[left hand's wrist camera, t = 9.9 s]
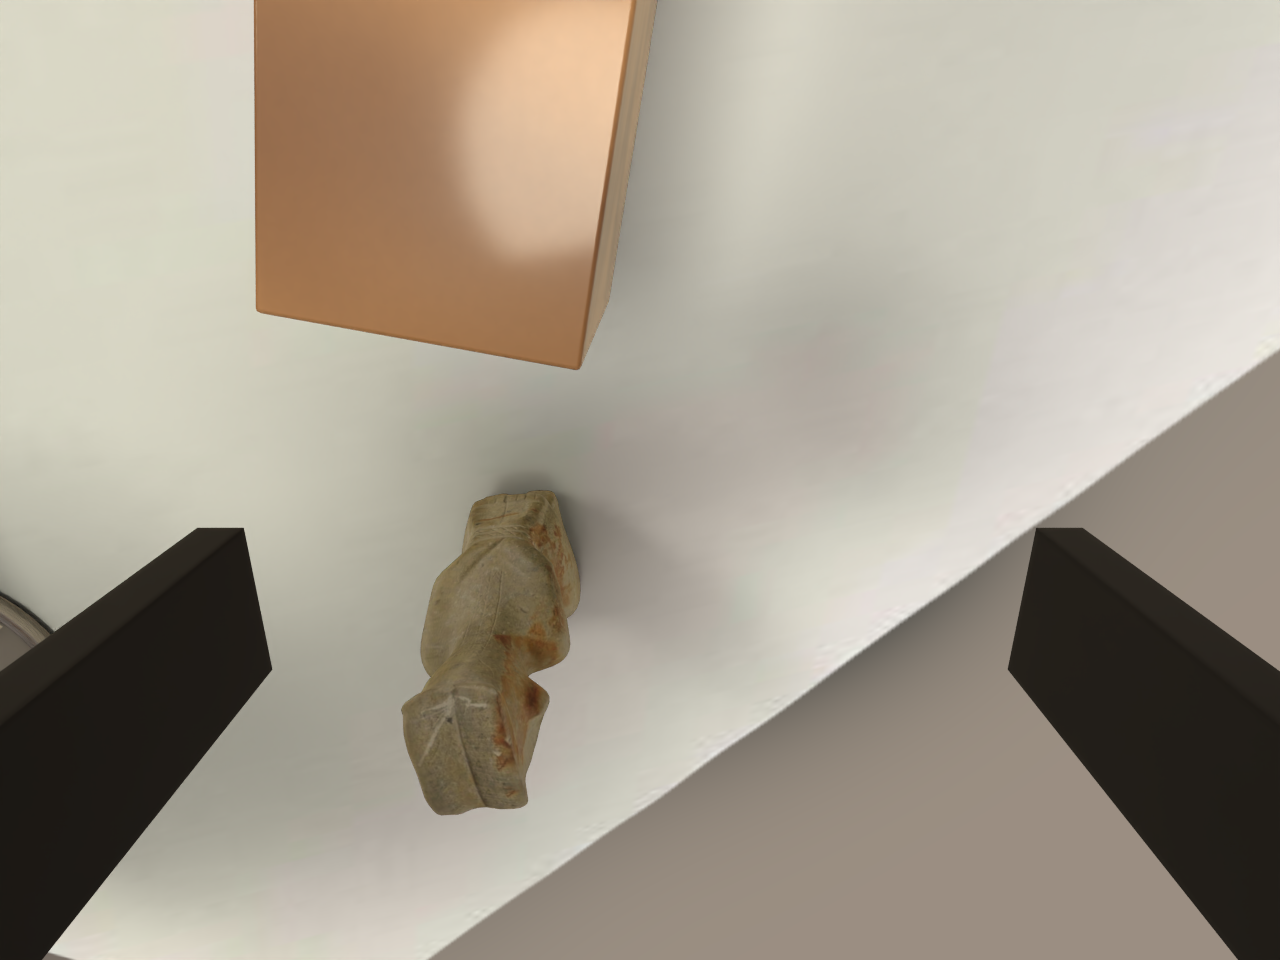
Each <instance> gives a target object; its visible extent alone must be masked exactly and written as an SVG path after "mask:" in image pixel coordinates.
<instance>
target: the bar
mask: <svg viewBox="0 0 1280 960" xmlns="http://www.w3.org/2000/svg"><path fill="white" fill-rule="evenodd" d="M656 6H657V0H254V85H255V240H256V310H257V311H258V312H260V313H263V314H269V315H274V316H280V317H285V318H291V319H296V320H302V321H307V322H313V323H319V324H324V325H330V326H335V327H341V328H346V329H352V330H357V331H363V332H368V333H374V334H379V335H385V336H391V337H396V338H402V339H407V340H413V341H418V342H424V343H429V344H435V345H440V346H446V347H451V348H457V349H463V350H468V351H474V352H479V353H485V354H490V355H496V356H501V357H507V358H512V359H518V360H523V361H529V362H535V363H540V364H546V365H551V366H557V367H562V368H568V369H573V370H578V369H580V367H581V366H582V363H583V361H584V358H585V356H586V354H587V351H588V349H589V347H590V344H591V342H592V340H593V337H594V335H595V332H596V330H597V328H598V325H599V323H600V321H601V318H602V316H603V314H604V311H605V309H606V307H607V304H608V302H609V297H610V291H611V285H612V279H613V272H614V266H615V260H616V254H617V248H618V241H619V235H620V229H621V223H622V217H623V211H624V204H625V198H626V192H627V186H628V180H629V173H630V167H631V161H632V155H633V149H634V142H635V136H636V130H637V124H638V118H639V112H640V105H641V99H642V93H643V87H644V81H645V74H646V68H647V62H648V56H649V50H650V43H651V37H652V31H653V25H654V19H655V13H656Z"/></svg>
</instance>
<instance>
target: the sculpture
mask: <svg viewBox="0 0 1280 960" xmlns="http://www.w3.org/2000/svg"><path fill="white" fill-rule="evenodd" d="M579 600H580V579H579V573H578V568H577V564H576V561H575V557H574V554H573V551H572V548H571V545H570V543H569V540H568V537H567V534H566V531H565V529H564V526H563V522H562V518H561V514H560V511H559V504H558V500H557V498H556V496H555V494H554V493H553V492H552V491H543V490H538V491H529V492H528V493H527V494H515V495H508V494H499V495H494V496H489V497H486V498H485V499H482V500H479V501H477V502H475V503H474V505H473V506H472V509H471V511H470V515H469V519H468V522H467V526H466V531H465V536H464V542H463V548H462V554H461V555H460V556H459V557H458V558H457V559H456V560H455V561H454V562H453V563H452V564H450V565H449V566H448V567H447V568H446V569H445V570H444V571H443V572H442V573H441V574H440V575H439V576H438V578H437V579H436V581H435V583H434V585H433V589H432V593H431V597H430V601H429V606H428V610H427V615H426V620H425V625H424V629H423V634H422V640H421V659H422V663H423V665H424V668H425V670H426V672H427V673H428V674H429V676H430V677H431V678H430V679H429V680H428V682H427V683H426V685H425V687H424V688H423V690H422V692H421V693H419V694H417V695H416V696H414V697H413V698H411V699H410V700H408V701H407V702H406V703H405V704H404V705H403V706H402V710H401V711H402V714H403V729H404V738H405V742H406V746H407V750H408V753H409V756H410V758H411V761H412V763H413V766H414V768H415V771H416V773H417V776H418V779H419V782H420V785H421V788H422V791H423V794H424V797H425V799H426V801H427V803H428V804H429V806H430V807H431V808H432V809H433V811H434V812H436V813H437V814H439V815H458V814H462V813H464V812H467V811H469V810H471V809H475V808H479V807H489V808H496V809H516V808H521V807H523V806H525V805H526V804H527V802H528V797H527V790H526V783H525V777H526V773H527V770H528V768H529V765H530V762H531V759H532V755H533V752H534V748H535V745H536V741H537V737H538V733H539V729H540V725H541V722H542V719H543V716H544V713H545V711H546V709H547V707H548V704H549V695H548V693H547V692H546V691H545V690H544V689H543V688H542V687H541V686H539V685H538V684H537V683H535V682H534V681H533V680H531V679H530V678H529V677H528V676H529V675H530V674H532V673H534V672H537V671H540V670H543V669H546V668H549V667H551V666H554V665H556V664H558V663H559V662H561V661H562V660H563V659H564V658H565V657H566V656H567V654H568V652H569V649H570V637H569V630H568V624H567V618H568V617H569V616H571V615H572V614H573V613H574V611H575V610H576V608H577V606H578V603H579Z"/></svg>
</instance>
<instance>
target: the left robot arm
mask: <svg viewBox="0 0 1280 960" xmlns="http://www.w3.org/2000/svg"><path fill="white" fill-rule="evenodd" d="M271 670H272V666H271V661H270V656H269V651H268V646H267V641H266V636H265V631H264V626H263V621H262V616H261V611H260V606H259V601H258V596H257V591H256V586H255V581H254V576H253V571H252V567H251V562H250V557H249V552H248V547H247V542H246V537H245V532H244V528H197V529H195V530H194V531H193V532H191V533H190V534H188V535H187V536H186V537H184V538H183V539H182V540H180V541H179V542H177V543H176V544H175V545H173V546H172V547H171V548H169V549H168V550H166V551H165V552H164V553H162V554H161V555H160V556H158V557H157V558H155V559H154V560H153V561H151V562H150V563H149V564H147V565H146V566H144V567H143V568H142V569H140V570H139V571H138V572H136V573H135V574H133V575H132V576H131V577H129V578H128V579H127V580H125V581H124V582H122V583H121V584H120V585H118V586H117V587H116V588H114V589H113V590H111V591H110V592H109V593H107V594H106V595H105V596H103V597H102V598H100V599H99V600H98V601H96V602H95V603H94V604H92V605H91V606H89V607H88V608H87V609H85V610H84V611H83V612H81V613H80V614H78V615H77V616H76V617H74V618H73V619H72V620H70V621H69V622H67V623H66V624H65V625H63V626H62V627H61V628H59V629H58V630H57V631H55V632H54V633H52V634H50V633H49V632H48V631H47V630H46V629H45V628H44V627H43V626H41V625H40V624H39V623H38V622H37V621H36V620H35V619H33V618H32V617H31V616H30V615H28V614H27V613H26V612H24V611H23V610H22V609H21V608H19V607H18V606H16V605H14V604H13V603H11V602H10V601H8V600H7V599H5V598H3V597H2V596H0V960H42V959H43V958H44V956H45V955H46V954H47V953H48V951H49V950H50V949H51V948H52V946H53V945H54V944H55V943H56V941H57V940H58V939H59V938H60V936H61V935H62V934H63V933H64V931H65V930H66V929H67V927H68V926H69V925H70V924H71V922H72V921H73V920H74V919H75V917H76V916H77V915H78V914H79V912H80V911H81V910H82V909H83V907H84V906H85V905H86V904H87V902H88V901H89V900H90V898H91V897H92V896H93V895H94V893H95V892H96V891H97V890H98V888H99V887H100V886H101V885H102V883H103V882H104V881H105V880H106V878H107V877H108V876H109V875H110V873H111V872H112V871H113V869H114V868H115V867H116V866H117V864H118V863H119V862H120V861H121V859H122V858H123V857H124V856H125V854H126V853H127V852H128V851H129V849H130V848H131V847H132V846H133V844H134V843H135V842H136V841H137V839H138V838H139V837H140V835H141V834H142V833H143V832H144V830H145V829H146V828H147V827H148V825H149V824H150V823H151V822H152V820H153V819H154V818H155V817H156V815H157V814H158V813H159V812H160V810H161V809H162V808H163V806H164V805H165V804H166V803H167V801H168V800H169V799H170V798H171V796H172V795H173V794H174V793H175V791H176V790H177V789H178V788H179V786H180V785H181V784H182V783H183V781H184V780H185V779H186V777H187V776H188V775H189V774H190V772H191V771H192V770H193V769H194V767H195V766H196V765H197V764H198V762H199V761H200V760H201V759H202V757H203V756H204V755H205V754H206V752H207V751H208V750H209V748H210V747H211V746H212V745H213V743H214V742H215V741H216V740H217V738H218V737H219V736H220V735H221V733H222V732H223V731H224V730H225V728H226V727H227V726H228V725H229V723H230V722H231V721H232V720H233V718H234V717H235V716H236V714H237V713H238V712H239V711H240V709H241V708H242V707H243V706H244V704H245V703H246V702H247V701H248V699H249V698H250V697H251V696H252V694H253V693H254V692H255V691H256V689H257V688H258V687H259V685H260V684H261V683H262V682H263V680H264V679H265V678H266V677H267V675H268V674H269V673H270V672H271ZM1008 670H1009V671H1010V673H1011V674H1012V675H1013V677H1014V678H1015V679H1016V680H1017V682H1018V683H1019V684H1020V685H1021V687H1022V688H1023V689H1024V691H1025V692H1026V693H1027V694H1028V696H1029V697H1030V698H1031V699H1032V701H1033V702H1034V703H1035V704H1036V706H1037V707H1038V708H1039V709H1040V711H1041V712H1042V713H1043V714H1044V716H1045V717H1046V718H1047V720H1048V721H1049V722H1050V723H1051V724H1052V726H1053V727H1054V728H1055V730H1056V731H1057V732H1058V733H1059V735H1060V736H1061V737H1062V738H1063V740H1064V741H1065V742H1066V743H1067V745H1068V746H1069V747H1070V748H1071V750H1072V751H1073V752H1074V753H1075V755H1076V756H1077V757H1078V759H1079V760H1080V761H1081V762H1082V764H1083V765H1084V766H1085V767H1086V769H1087V770H1088V771H1089V772H1090V774H1091V775H1092V776H1093V777H1094V779H1095V780H1096V781H1097V782H1098V784H1099V785H1100V786H1101V787H1102V789H1103V790H1104V791H1105V793H1106V794H1107V795H1108V796H1109V798H1110V799H1111V800H1112V801H1113V803H1114V804H1115V805H1116V806H1117V808H1118V809H1119V810H1120V812H1121V813H1122V814H1123V815H1124V817H1125V818H1126V819H1127V820H1128V822H1129V823H1130V824H1131V825H1132V827H1133V828H1134V829H1135V830H1136V832H1137V833H1138V834H1139V835H1140V837H1141V838H1142V839H1143V841H1144V842H1145V843H1146V844H1147V845H1148V847H1149V848H1150V849H1151V851H1152V852H1153V853H1154V854H1155V856H1156V857H1157V858H1158V859H1159V861H1160V862H1161V863H1162V864H1163V866H1164V867H1165V868H1166V870H1167V871H1168V872H1169V873H1170V875H1171V876H1172V877H1173V878H1174V880H1175V881H1176V882H1177V883H1178V885H1179V886H1180V887H1181V888H1182V890H1183V891H1184V892H1185V893H1186V895H1187V896H1188V897H1189V898H1190V900H1191V901H1192V902H1193V903H1194V905H1195V906H1196V907H1197V909H1198V910H1199V911H1200V912H1201V914H1202V915H1203V916H1204V917H1205V919H1206V920H1207V921H1208V922H1209V924H1210V925H1211V926H1212V927H1213V929H1214V930H1215V931H1216V933H1217V934H1218V935H1219V936H1220V938H1221V939H1222V940H1223V941H1224V943H1225V944H1226V945H1227V946H1228V948H1229V949H1230V950H1231V951H1232V953H1233V954H1234V955H1235V956H1236V958H1237V959H1238V960H1280V671H1278V670H1277V669H1276V668H1274V667H1273V666H1272V665H1270V664H1269V663H1267V662H1266V661H1265V660H1263V659H1262V658H1261V657H1259V656H1258V655H1256V654H1255V653H1254V652H1252V651H1251V650H1250V649H1248V648H1247V647H1245V646H1244V645H1243V644H1241V643H1240V642H1239V641H1237V640H1236V639H1234V638H1233V637H1232V636H1230V635H1229V634H1228V633H1226V632H1225V631H1223V630H1222V629H1221V628H1219V627H1218V626H1217V625H1215V624H1214V623H1212V622H1211V621H1210V620H1208V619H1207V618H1206V617H1204V616H1203V615H1202V614H1200V613H1199V612H1197V611H1196V610H1195V609H1193V608H1192V607H1190V606H1189V605H1188V604H1186V603H1185V602H1184V601H1182V600H1181V599H1179V598H1178V597H1177V596H1175V595H1174V594H1173V593H1171V592H1170V591H1169V590H1167V589H1166V588H1164V587H1163V586H1162V585H1160V584H1159V583H1157V582H1156V581H1155V580H1153V579H1152V578H1151V577H1149V576H1148V575H1147V574H1145V573H1144V572H1142V571H1141V570H1140V569H1138V568H1137V567H1136V566H1134V565H1133V564H1131V563H1130V562H1129V561H1127V560H1126V559H1125V558H1123V557H1122V556H1120V555H1119V554H1118V553H1116V552H1115V551H1114V550H1112V549H1111V548H1109V547H1108V546H1107V545H1105V544H1104V543H1103V542H1101V541H1100V540H1098V539H1097V538H1096V537H1094V536H1093V535H1092V534H1090V533H1089V532H1087V531H1086V530H1085V529H1083V528H1036V532H1035V537H1034V542H1033V547H1032V552H1031V557H1030V562H1029V567H1028V572H1027V576H1026V582H1025V586H1024V591H1023V596H1022V601H1021V606H1020V611H1019V616H1018V621H1017V626H1016V631H1015V636H1014V641H1013V646H1012V651H1011V656H1010V661H1009V666H1008Z"/></svg>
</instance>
